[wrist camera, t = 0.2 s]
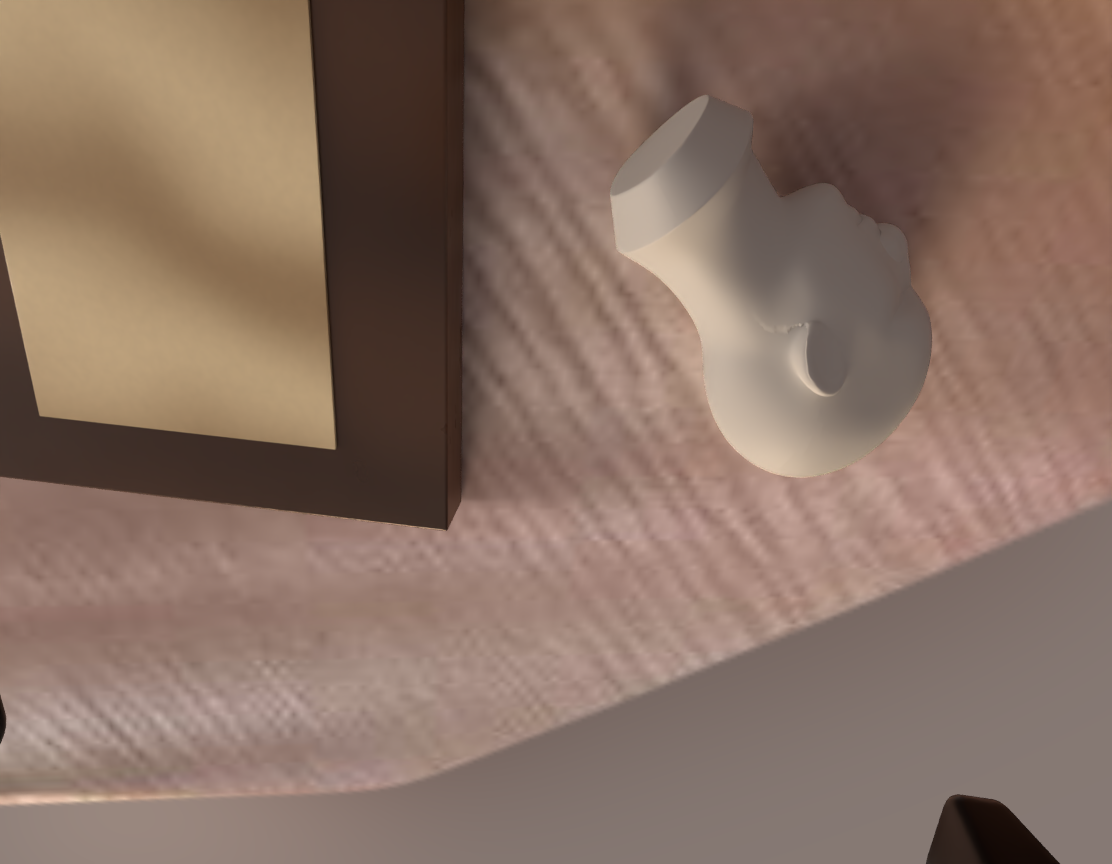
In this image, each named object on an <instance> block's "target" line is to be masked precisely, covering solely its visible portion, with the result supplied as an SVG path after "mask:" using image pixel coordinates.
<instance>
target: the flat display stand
mask: <svg viewBox="0 0 1112 864" xmlns="http://www.w3.org/2000/svg"><path fill="white" fill-rule="evenodd" d="M463 98H464V0H0V477H7V478H15V479H23V480H31V481H40V482H48V483H56V484H64V485H72V486H81V487H89V488H97V489H105V490H113V491H122V492H130V493H138V494H146V495H154V496H163V497H171V498H179V499H187V500H195V501H204V502H212V503H220V504H228V505H236V506H245V507H253V508H261V509H269V510H277V511H286V512H294V513H302V514H310V515H318V516H327V517H335V518H343V519H351V520H360V521H368V522H376V523H384V524H392V525H401V526H409V527H417V528H425V529H433V530H442V531H447V530H448V528H449V526H450V523H451V521H452V519H453V517H454V515H455V513H456V511H457V509H458V507H459V505H460V502H461V437H462V268H463Z"/></svg>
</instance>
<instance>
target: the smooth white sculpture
mask: <svg viewBox="0 0 1112 864" xmlns="http://www.w3.org/2000/svg"><path fill="white" fill-rule="evenodd" d="M752 133H753V116H752V114H751V113H750V112H749V111H747V110H745V109H742V108H740V107H737V106H735V105H732V104H730V103H727V102H725V101H722V100H720V99H717V98H715V97H712V96H710V95H703V96H700V97H698V98H696V99H695V100H693V101H691V102H690V103H688V104H687V105H686V106H684V107H683V108H682V109H680V110H679V111H678V112H677V113H676V114H674V115H673V116H672V117H671V118H670V119H668V120H667V121H666V122H665V123H664V124H663V125H662V126H661V127H659V128H658V129H657V130H656V131H655V132H654V133H653V134H652V135H651V136H650V137H649V138H648V139H647V140H646V141H645V142H643V143H642V144H641V145H640V147H639V148H638V149H637V150H636V151H635V152H634V153H633V154H632V155H631V156H630V157H629V158H628V160H627V161H626V162H625V163H624V164H623V166H622V167H621V168H620V170H619V171H618V173H617V174H616V176H615V178H614V180H613V183H612V186H611V190H610V198H611V206H612V215H613V224H614V233H615V242H616V248H617V250H618V251H619V252H620V253H621V254H623V255H625V256H626V257H628V258H630V259H631V260H633V261H635V262H636V263H638V264H640V265H641V266H643V267H645V268H646V269H648V270H649V271H650V272H652V273H653V274H654V275H656V276H657V277H658V278H659V279H660V280H661V281H662V282H664V283H665V284H666V285H667V286H668V287H669V288H670V290H671V291H672V292H673V293H674V294H675V295H676V296H677V298H678V299H679V300H680V301H681V303H682V304H683V305H684V307H685V308H686V310H687V311H688V313H689V314H690V316H691V318H692V320H693V321H694V323H695V325H696V328H697V330H698V333H699V336H700V339H701V344H702V355H703V375H704V383H705V389H706V394H707V398H708V402H709V406H710V409H711V412H712V414H713V417H714V419H715V421H716V424H717V425H718V427H719V429H720V431H721V432H722V434H723V435H724V437H725V438H726V440H727V441H728V442H729V443H730V445H731V446H732V447H733V448H734V449H735V450H736V451H737V452H738V453H739V454H741V455H742V456H743V457H744V458H745V459H747V460H748V461H750V462H751V463H752V464H754V465H756V466H758V467H759V468H761V469H763V470H766V471H768V472H771V473H773V474H777V475H781V476H786V477H794V478H804V477H814V476H820V475H824V474H828V473H831V472H834V471H837V470H840V469H843V468H845V467H847V466H849V465H851V464H853V463H855V462H857V461H858V460H860V459H862V458H863V457H864V456H866V455H867V454H869V453H870V452H871V451H873V450H874V449H875V448H876V447H877V446H879V445H880V444H881V443H882V442H883V441H884V440H885V439H886V438H887V437H888V436H890V435H891V434H892V432H893V431H894V430H895V429H896V428H897V427H898V426H899V424H900V423H901V422H902V421H903V419H904V418H905V416H906V415H907V414H908V412H909V411H910V409H911V407H912V406H913V404H914V403H915V401H916V399H917V397H918V395H919V393H920V391H921V389H922V386H923V384H924V381H925V378H926V375H927V371H928V367H929V362H930V356H931V348H932V330H931V322H930V317H929V314H928V311H927V309H926V307H925V305H924V304H923V302H922V301H921V299H920V298H919V296H918V295H917V293H916V292H915V291H914V289H913V288H912V287H911V270H910V263H909V256H908V244H907V240H906V237H905V235H904V234H903V232H902V231H901V230H900V229H899V228H898V227H897V226H895V225H892V224H889V223H879V224H876V223H875V221H874V220H873V219H872V218H871V217H869V216H867V215H864V214H859V213H858V211H857V210H856V209H855V208H854V207H851V206H849V205H848V204H847V203H846V202H845V200H844V198H843V196H842V194H841V193H840V191H839V190H838V189H837V188H836V187H835V186H833V185H831V184H828V183H817V184H813V185H810V186H807V187H804V188H802V189H799V190H797V191H795V192H793V193H790V194H788V195H786V196H784V197H779V196H778V194H777V193H776V191H775V189H774V188H773V186H772V184H771V183H770V181H769V179H768V177H767V176H766V174H765V172H764V170H763V169H762V167H761V165H760V163H759V162H758V160H757V158H756V157H755V155H754V153H753V151H752V149H751V144H752Z"/></svg>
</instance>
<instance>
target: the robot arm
mask: <svg viewBox="0 0 1112 864" xmlns="http://www.w3.org/2000/svg"><path fill="white" fill-rule="evenodd" d="M5 728H6V714H5V710H4V707H3V703H2V699H1V696H0V743H1V741H2V738H3V736H4V733H5ZM926 864H1060V863H1059V862H1058V861H1057V860H1056V859H1055V858H1054V857H1053V856H1052V855H1051V854H1050V853H1049V852H1048V850H1047V849H1046V848H1045V847H1044V846H1043V845H1042V844H1041V843H1040V842H1039V841H1038V840H1037V839H1036V838H1035V837H1034V836H1033V834H1032V833H1031V832H1030V831H1029V830H1028V829H1027V828H1026V827H1025V826H1024V825H1023V824H1022V823H1021V821H1020V820H1019V819H1018V818H1017V817H1016V816H1015V815H1014V814H1013V813H1012V812H1011V811H1010V810H1009V809H1008V808H1007V807H1006V806H1005V805H1003V804H1002V803H1001V802H999V801H997V800H993V799H987V798H980V797H973V796H966V795H959V794H957V795H953V796H951V797H949V799H948V800H947V801H946V803H945V805H944V807H943V811H942V813H941V816H940V819H939V823H938V826H937V829H936V832H935V835H934V838H933V841H932V844H931V847H930V851H929V853H928V857H927V862H926Z"/></svg>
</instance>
